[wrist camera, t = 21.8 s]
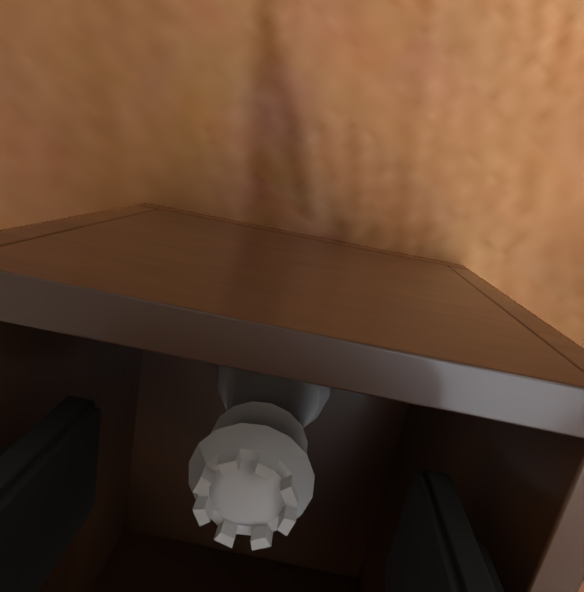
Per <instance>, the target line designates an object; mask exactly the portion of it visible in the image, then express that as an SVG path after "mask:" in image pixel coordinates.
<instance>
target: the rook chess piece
mask: <svg viewBox="0 0 584 592" xmlns="http://www.w3.org/2000/svg"><path fill="white" fill-rule="evenodd" d="M218 391H219V393H220V396H221V398H222V401H223V403H224V406H225V408H226V412H225V413H224V414H223V415H221V416H220V417H219V419H218V420H217V422H216V424H215V426H214V428H213V430H212V432H211V434H210V435H209V436H207V437H206V438H205V439H203V440H202V441H201V442H200V443H199V444H198V446H197V448H196V449H195V451H194V453H193V455H192V457H191V459H190V461H189V486H190V488H191V490H192V493H193V495H194V497H195V499H196V502H195V504H194V507H193V509H192V510H193V512H194V515H195V517H196V519H197V521H198V523H199V526H202V525H204V524H206V523H209V522H210V520H211V519H212V520H213V521H214V522H215V523H216V524H217V525H218V527H217V530H216V534H215V537H214V540H215V541H217V542H219V543H222V544H224V545H226V546H228V547H230V548H232V546H233V543H234V540H235V536H236V534H242V535H250V536H251V540H250V542H251V547H252V551H253V550H257V549H262V548H267V547H271V544H272V537H273V532H274V531H277V530H278V531H280V532H281V533H283V534H284V535H285V536H287V535H288V533H289V532H290V530H291V529H292V527H293V525H294V524H295V522H296V519H297V518H298V517H300V516H301V515H302V513H303V512H304V510H305V509H306V507H307V505H308V504H309V502H310V501H311V499H312V497H313V488H314V479H315V475H314V472H313V470H312V467H311V464H310V461H309V459H308V456H307V446H308V441H307V438H306V436H305V433H304V427H305V426H307V425H308V424H309V423H311V422H312V421H314V420H315V419H316V418H317V417H318V415H319V414H320V412H321V410H322V409H323V407H324V405H325V404H326V402H327V400H328V399H329V397H330V387H325V386H320V385H315V384H310V383H305V382H300V381H295V380H290V379H285V378H280V377H275V376H270V375H265V374H260V373H255V372H251V371H246V370H241V369H236V368H231V367H226V366H221V365H219V368H218Z"/></svg>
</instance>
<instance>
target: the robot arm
mask: <svg viewBox="0 0 584 592" xmlns="http://www.w3.org/2000/svg"><path fill="white" fill-rule="evenodd" d="M100 423H101V409H100V408H98V407H95V402H94V401H93V400H90V399H86V398H81V397H76V396H67V397H66V398H65V399H63V400H62V401H61V402H60V403H59V404H58V405H57V406H56V407H55V408H53V409H52V410H51V411H50V412H49V413H48V414H47V415H46V416H45V417H44V418H42V419H41V420H40V421H39V422H38V423H37V424H36V425H35V426H34V427H32V428H31V429H30V430H29V431H28V432H27V433H26V434H25V435H24V436H22V437H21V438H20V439H19V440H18V441H17V442H16V443H15V444H12V445H9V446H8V447H6V448H5V449H3V450H2V451H1V452H0V592H38V590H39V589H40V587H41V586H42V584H43V583H44V581H45V580H46V579H47V577H48V576H49V574H50V573H51V571H52V570H53V568H54V567H55V565H56V564H57V562H58V561H59V559H60V558H61V556H62V555H63V553H64V552H65V550H66V549H67V547H68V546H69V544H70V543H71V541H72V540H73V538H74V537H75V535H76V534H77V533H78V531H79V530H80V528H81V527H82V525H83V524H84V522H85V521H86V519H87V518H88V516H89V514H90V513H91V510H92V508H93V505H94V502H95V493H96V479H97V465H98V451H99V437H100ZM385 581H386V588H387V592H504V590H503V587H502V585H501V582H500V580H499V578H498V575H497V573H496V570H495V568H494V565H493V563H492V561H491V558H490V556H489V553H488V551H487V549H486V547H485V545H484V544H483V543H482V542H480V541H476V539H475V536H474V534H473V531H472V529H471V526H470V524H469V521H468V519H467V516H466V513H465V511H464V508H463V506H462V503H461V501H460V498H459V496H458V493H457V491H456V488H455V485H454V483H453V480H452V478H451V476H450V475H449V474H447V473H442V472H437V471H432V470H428V469H425V470H423V471H422V473H421V475H420V474H415V475H414V476H413V479H412V482H411V485H410V488H409V491H408V494H407V497H406V500H405V504H404V507H403V510H402V513H401V516H400V519H399V522H398V526H397V529H396V532H395V535H394V538H393V541H392V544H391V548H390V551H389V554H388V557H387V560H386V566H385Z"/></svg>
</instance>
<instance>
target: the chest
mask: <svg viewBox="0 0 584 592" xmlns="http://www.w3.org/2000/svg"><path fill="white" fill-rule="evenodd" d="M219 365H221V366H226V367H231V368H236V369H241V370H246V371H251V372H255V373H260V374H265V375H270V376H275V377H280V378H285V379H290V380H295V381H300V382H305V383H310V384H315V385H320V386H325V387H330V397H329V399H328V400H327V402H326V404H325V405H324V407H323V409H322V410H321V412H320V414H319V415H318V417H317V418H316V419H315V420H314V421H312V422H311V423H309V424H308V425H307V426H305V427H304V433H305V436H306V438H307V441H308V446H307V456H308V459H309V461H310V464H311V467H312V470H313V472H314V475H315V479H314V488H313V497H312V499H311V501H310V502H309V504H308V505H307V507H306V509H305V510H304V512H303V513H302V515H301V516H300V517H298V518H297V519H296V522H295V524H294V525H293V527H292V529H291V530H290V532H289V533H288V535H287V536H285V535H284V534H283V533H281V532H280V531H278V530H277V531H274V532H273V537H272V544H271V547H267V548H262V549H257V550H253V551H252V547H251V542H250V540H251V536H250V535H242V534H236V536H235V540H234V543H233V546H232V548H230V547H228V546H226V545H224V544H222V543H219V542H217V541H215V540H214V537H215V534H216V530H217V527H218V525H217V524H216V523H215V522H214V521H213V520H212V519H211V520H210V522H209V523H206V524H204V525H202V526H199V523H198V521H197V519H196V517H195V515H194V512H193V510H192V509H193V507H194V504H195V502H196V499H195V497H194V495H193V493H192V490H191V488H190V486H189V461H190V459H191V457H192V455H193V453H194V451H195V449H196V448H197V446H198V444H199V443H200V442H201V441H202V440H203V439H205V438H206V437H207V436H209V435H210V434H211V432H212V430H213V428H214V426H215V424H216V422H217V420H218V419H219V417H220V416H221V415H223V414H224V413H225V412H226V408H225V406H224V403H223V401H222V398H221V396H220V393H219V391H218V368H219ZM67 396H76V397H81V398H86V399H90V400H93V401H94V402H95V407H98V408H100V409H101V423H100V437H99V451H98V465H97V479H96V493H95V502H94V505H93V508H92V510H91V513H90V514H89V516H88V518H87V519H86V521H85V522H84V524H83V525H82V527H81V528H80V530H79V531H78V533H77V534H76V535H75V537H74V538H73V540H72V541H71V543H70V544H69V546H68V547H67V549H66V550H65V552H64V553H63V555H62V556H61V558H60V559H59V561H58V562H57V564H56V565H55V567H54V568H53V570H52V571H51V573H50V574H49V576H48V577H47V579H46V580H45V581H44V583H43V584H42V586H41V587H40V589H39V590H38V592H387V588H386V581H385V566H386V560H387V557H388V554H389V551H390V548H391V544H392V541H393V538H394V535H395V532H396V529H397V526H398V522H399V519H400V516H401V513H402V510H403V507H404V504H405V500H406V497H407V494H408V491H409V488H410V485H411V482H412V479H413V476H414V475H415V474H420V475H421V473H422V471H423V470H425V469H428V470H432V471H437V472H442V473H447V474H449V475H450V476H451V478H452V480H453V483H454V485H455V488H456V491H457V493H458V496H459V498H460V501H461V503H462V506H463V508H464V511H465V513H466V516H467V519H468V521H469V524H470V526H471V529H472V531H473V534H474V536H475V539H476V541H480V542H482V543H483V544H484V545H485V547H486V549H487V551H488V553H489V556H490V558H491V561H492V563H493V565H494V568H495V570H496V573H497V575H498V578H499V580H500V582H501V585H502V587H503V590H504V592H578V591H579V589H580V587H581V585H582V583H583V580H584V349H583V348H582V347H581V346H579V345H578V344H576V343H575V342H573V341H572V340H570V339H569V338H568V337H566V336H565V335H563V334H562V333H560V332H559V331H557V330H556V329H554V328H553V327H552V326H550V325H549V324H547V323H546V322H544V321H543V320H541V319H540V318H538V317H537V316H536V315H534V314H533V313H531V312H530V311H528V310H527V309H525V308H524V307H523V306H521V305H520V304H518V303H517V302H515V301H514V300H512V299H511V298H509V297H508V296H507V295H505V294H504V293H502V292H501V291H499V290H498V289H496V288H495V287H493V286H492V285H491V284H489V283H488V282H486V281H485V280H483V279H482V278H480V277H479V276H478V275H476V274H475V273H473V272H472V271H470V270H469V269H467V268H466V267H464V266H462V265H457V264H452V263H447V262H441V261H436V260H431V259H426V258H421V257H416V256H411V255H406V254H401V253H396V252H391V251H386V250H380V249H375V248H370V247H365V246H360V245H355V244H350V243H345V242H340V241H335V240H330V239H324V238H319V237H314V236H309V235H304V234H299V233H294V232H289V231H284V230H279V229H274V228H268V227H263V226H258V225H253V224H248V223H243V222H238V221H233V220H228V219H223V218H218V217H212V216H207V215H202V214H197V213H192V212H187V211H182V210H177V209H172V208H167V207H162V206H156V205H151V204H146V203H144V204H139V205H133V206H128V207H122V208H117V209H111V210H106V211H101V212H95V213H90V214H85V215H79V216H74V217H68V218H63V219H58V220H52V221H47V222H41V223H36V224H31V225H25V226H20V227H14V228H9V229H4V230H0V452H1V451H2V450H3V449H5V448H6V447H8V446H9V445H12V444H15V443H16V442H17V441H18V440H19V439H20V438H21V437H22V436H24V435H25V434H26V433H27V432H28V431H29V430H30V429H31V428H32V427H34V426H35V425H36V424H37V423H38V422H39V421H40V420H41V419H42V418H44V417H45V416H46V415H47V414H48V413H49V412H50V411H51V410H52V409H53V408H55V407H56V406H57V405H58V404H59V403H60V402H61V401H62V400H63V399H65V398H66V397H67Z"/></svg>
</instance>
